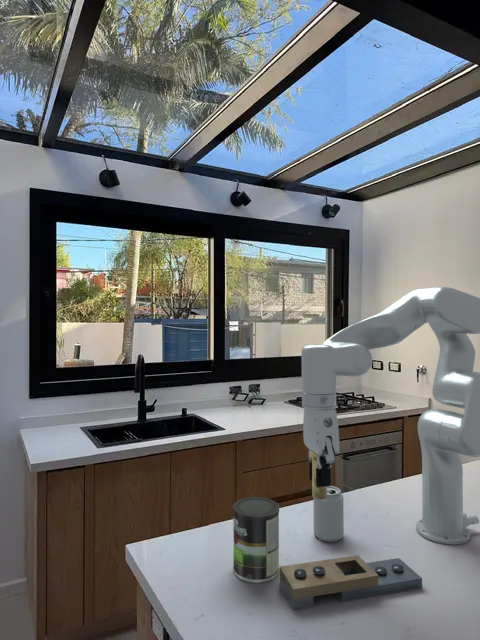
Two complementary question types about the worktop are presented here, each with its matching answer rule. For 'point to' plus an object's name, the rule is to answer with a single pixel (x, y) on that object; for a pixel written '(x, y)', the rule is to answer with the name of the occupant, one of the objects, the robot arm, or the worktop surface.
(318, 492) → the pin
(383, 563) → the peg hole board
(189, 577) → the worktop surface
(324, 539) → the can
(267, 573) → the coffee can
